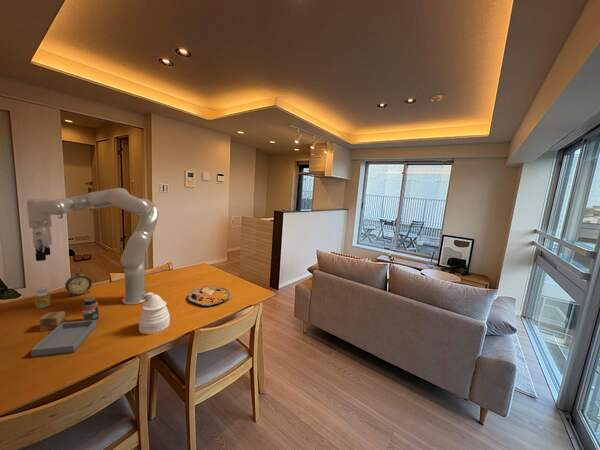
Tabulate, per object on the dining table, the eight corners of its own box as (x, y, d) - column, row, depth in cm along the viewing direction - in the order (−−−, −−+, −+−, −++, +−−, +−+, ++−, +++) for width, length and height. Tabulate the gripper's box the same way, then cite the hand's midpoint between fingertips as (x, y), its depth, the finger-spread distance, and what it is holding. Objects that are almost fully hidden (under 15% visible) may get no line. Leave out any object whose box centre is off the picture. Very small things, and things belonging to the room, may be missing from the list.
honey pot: (147, 338, 108) (146, 301, 105) (133, 327, 115) (132, 292, 112) (175, 325, 119) (175, 291, 116) (161, 316, 125) (160, 284, 123)
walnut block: (65, 322, 114) (64, 311, 113) (57, 330, 109) (56, 317, 108) (49, 324, 112) (48, 312, 111) (40, 331, 107) (39, 319, 106)
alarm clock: (67, 298, 135) (65, 271, 133) (65, 295, 138) (63, 269, 136) (92, 293, 144) (91, 267, 142) (89, 290, 147) (88, 265, 145)
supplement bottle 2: (89, 317, 120) (88, 296, 118) (102, 317, 121) (101, 296, 119) (79, 323, 114) (78, 301, 112) (92, 324, 115) (91, 302, 113)
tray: (96, 325, 114) (96, 319, 113) (73, 352, 96) (73, 345, 95) (62, 328, 110) (61, 322, 109) (31, 357, 92) (30, 350, 91)
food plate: (179, 299, 144) (179, 294, 144) (207, 286, 166) (207, 282, 165) (212, 311, 135) (212, 306, 135) (237, 296, 157) (237, 291, 156)
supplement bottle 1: (52, 302, 131) (50, 285, 129) (48, 306, 126) (47, 289, 125) (37, 304, 128) (36, 287, 126) (34, 308, 123) (32, 291, 122)
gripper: (47, 226, 113) (50, 261, 115) (54, 221, 126) (57, 252, 129) (23, 227, 108) (27, 263, 111) (34, 221, 122) (37, 254, 124)
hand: (43, 257), depth 120 cm, fingers open, 9 cm apart
